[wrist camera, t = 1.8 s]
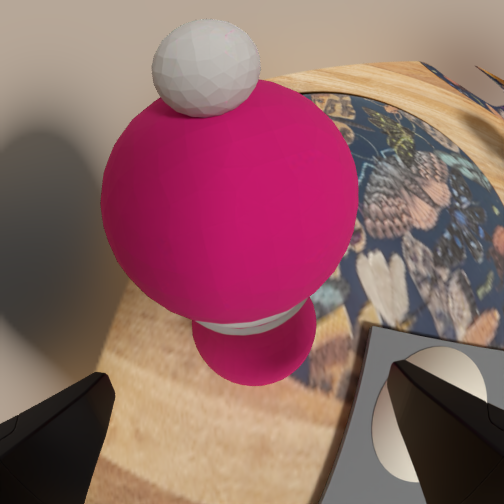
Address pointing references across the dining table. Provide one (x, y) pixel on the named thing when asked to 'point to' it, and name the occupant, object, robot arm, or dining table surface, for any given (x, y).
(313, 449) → the dining table surface
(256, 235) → the pepper mill
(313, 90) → the dining table surface
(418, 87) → the dining table surface
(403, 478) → the mat
